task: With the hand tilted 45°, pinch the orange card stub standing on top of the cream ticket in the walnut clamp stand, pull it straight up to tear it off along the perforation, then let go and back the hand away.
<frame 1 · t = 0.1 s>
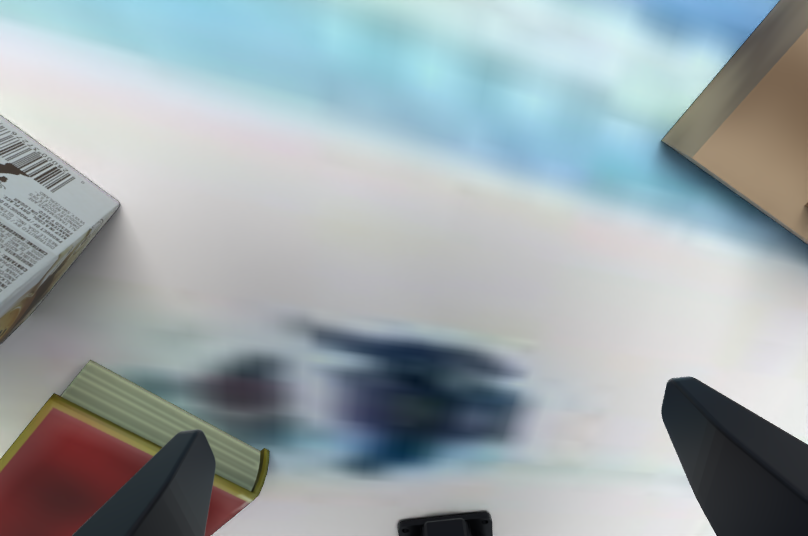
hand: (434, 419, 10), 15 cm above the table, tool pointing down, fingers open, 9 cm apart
coffee box: (14, 220, 23), on the table
hardcover book: (103, 485, 33), on the table
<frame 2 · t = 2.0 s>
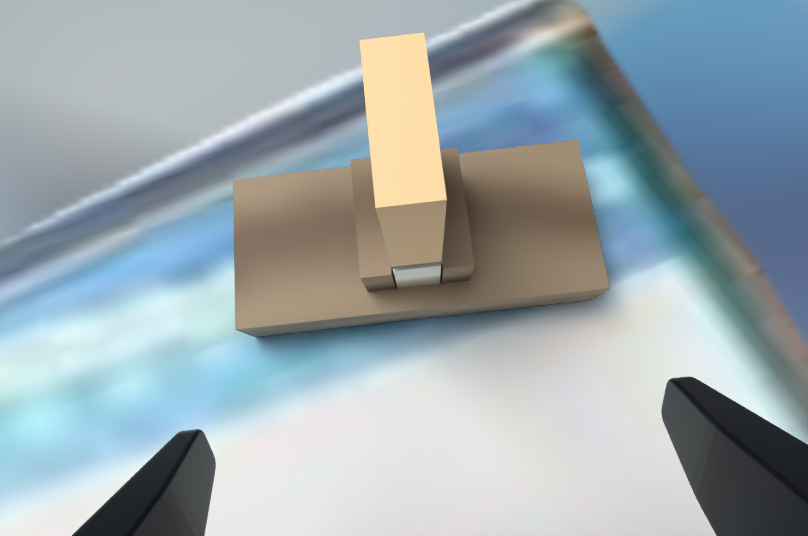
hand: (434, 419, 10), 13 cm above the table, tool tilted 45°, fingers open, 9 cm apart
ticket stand: (414, 248, 25), on the table
stub: (406, 167, 16), point 9 cm above the table, slide at 0.0 cm
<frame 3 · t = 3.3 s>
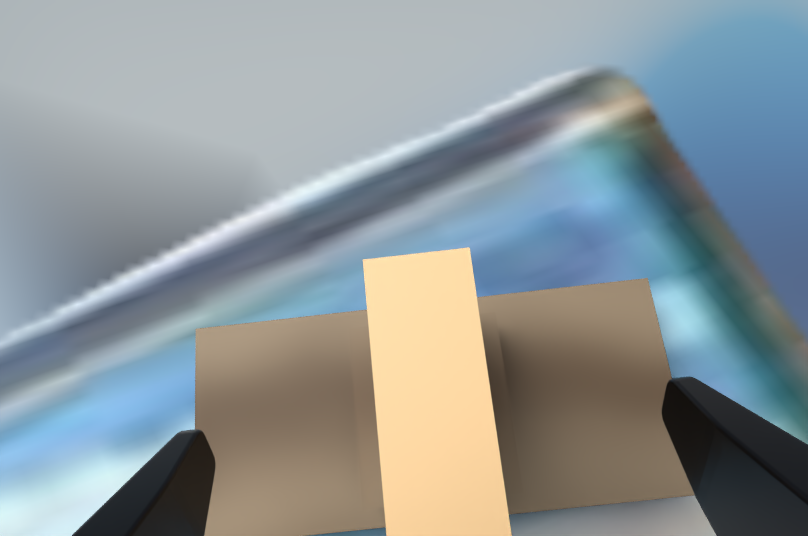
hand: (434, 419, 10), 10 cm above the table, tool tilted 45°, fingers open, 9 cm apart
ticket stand: (431, 406, 19), on the table
stub: (432, 406, 11), point 9 cm above the table, slide at 0.0 cm
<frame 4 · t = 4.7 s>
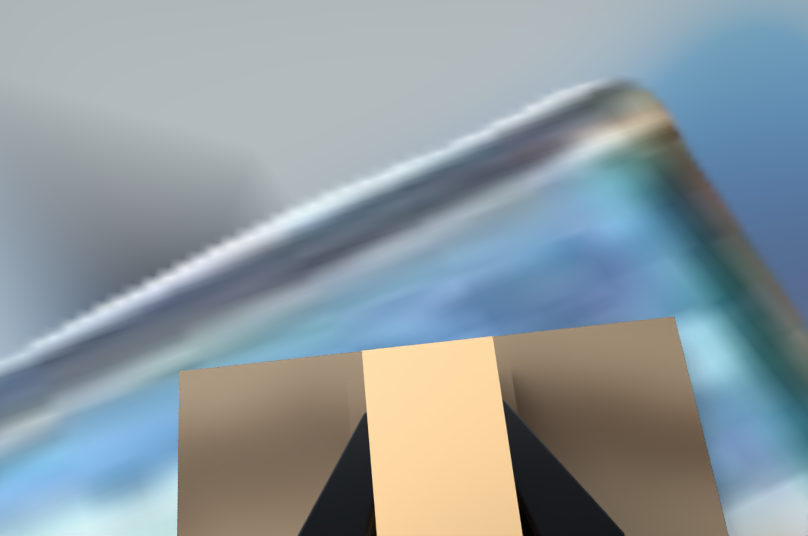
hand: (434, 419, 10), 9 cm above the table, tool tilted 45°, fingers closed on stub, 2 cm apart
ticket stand: (436, 451, 18), on the table
stub: (443, 499, 9), point 9 cm above the table, slide at 0.0 cm, touching gripper
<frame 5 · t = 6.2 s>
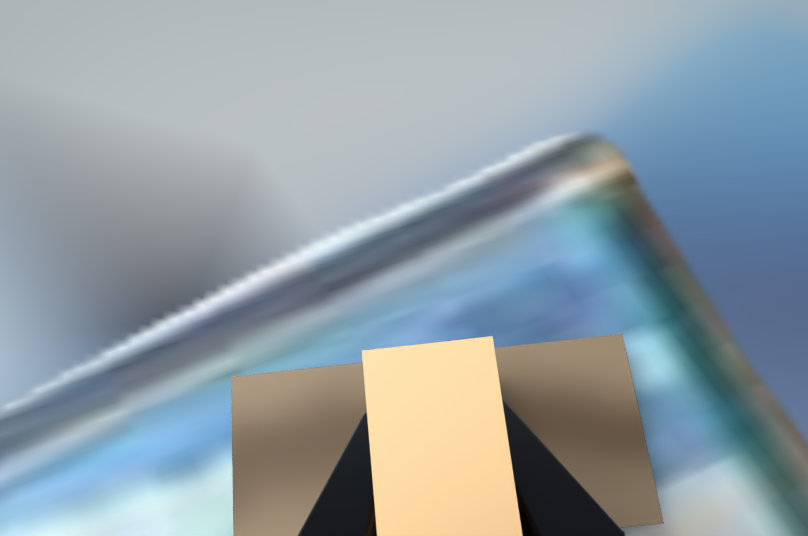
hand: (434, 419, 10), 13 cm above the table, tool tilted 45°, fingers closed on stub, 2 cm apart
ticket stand: (434, 440, 22), on the table
stub: (443, 498, 9), point 13 cm above the table, slide at 4.4 cm, touching gripper
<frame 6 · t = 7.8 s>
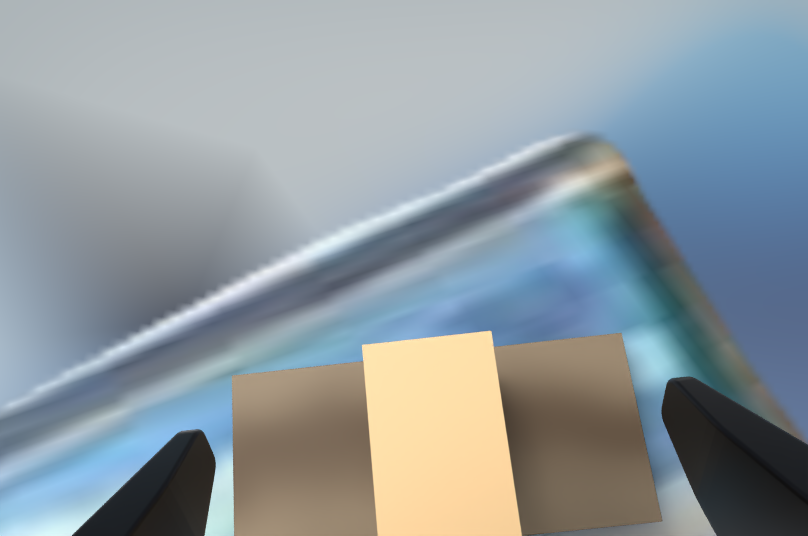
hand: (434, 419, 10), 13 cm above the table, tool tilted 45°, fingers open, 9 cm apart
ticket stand: (434, 439, 22), on the table
stub: (442, 493, 9), point 13 cm above the table, slide at 4.4 cm
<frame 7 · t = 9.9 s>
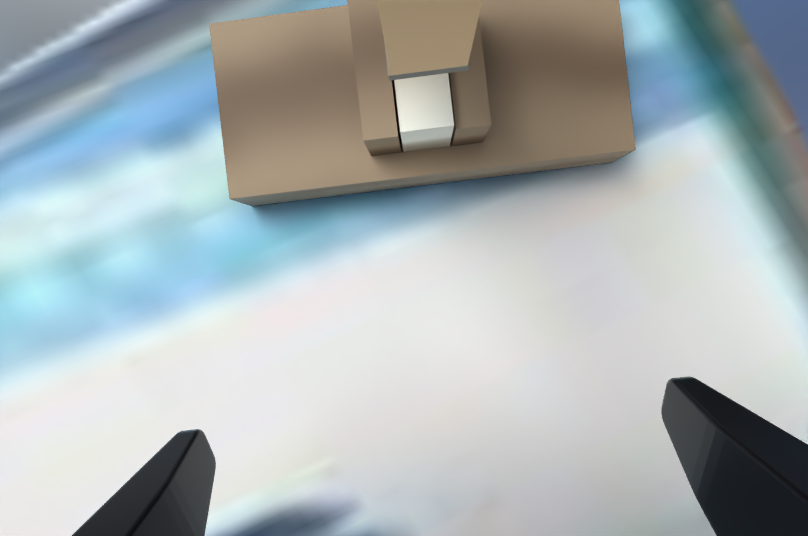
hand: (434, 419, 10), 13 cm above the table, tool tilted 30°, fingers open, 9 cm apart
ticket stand: (419, 105, 22), on the table
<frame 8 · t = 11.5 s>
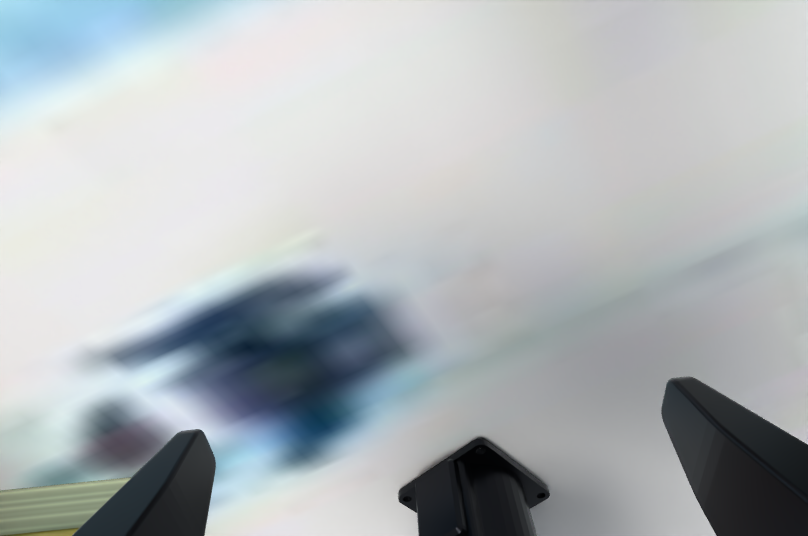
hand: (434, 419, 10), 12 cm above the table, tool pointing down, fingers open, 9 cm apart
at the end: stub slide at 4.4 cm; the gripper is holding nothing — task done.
